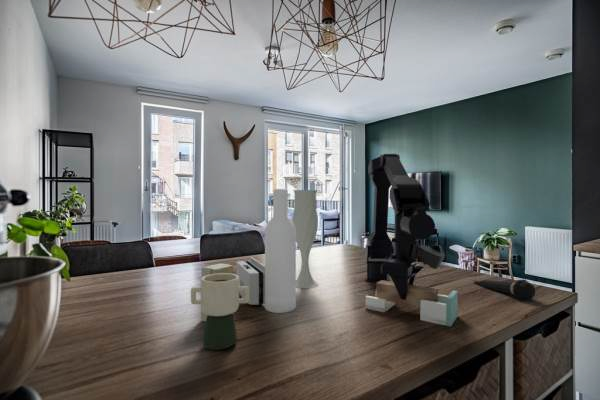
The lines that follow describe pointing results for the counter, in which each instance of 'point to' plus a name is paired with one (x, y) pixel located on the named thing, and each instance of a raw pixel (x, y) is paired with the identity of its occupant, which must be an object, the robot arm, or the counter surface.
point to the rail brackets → (424, 308)
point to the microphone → (511, 288)
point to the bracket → (252, 280)
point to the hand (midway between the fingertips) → (405, 297)
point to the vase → (305, 232)
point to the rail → (413, 294)
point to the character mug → (219, 308)
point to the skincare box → (215, 270)
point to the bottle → (280, 257)
